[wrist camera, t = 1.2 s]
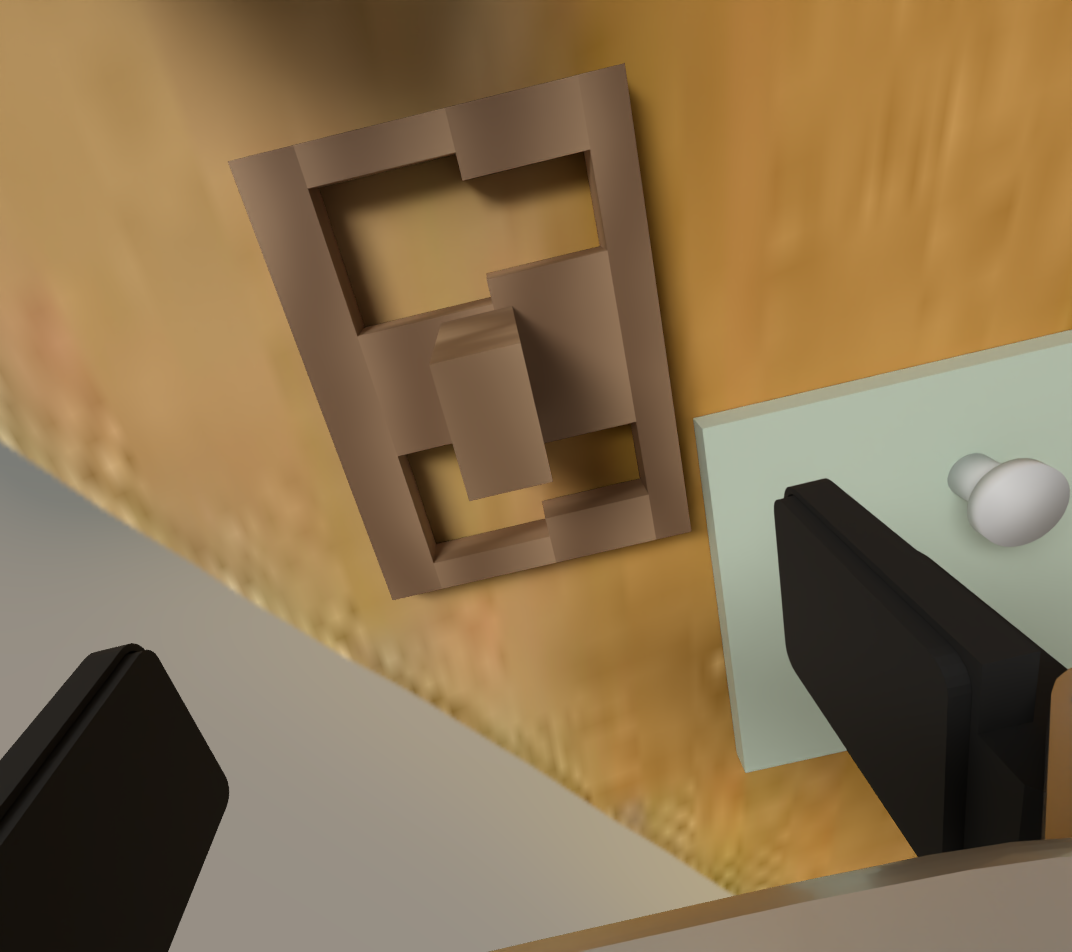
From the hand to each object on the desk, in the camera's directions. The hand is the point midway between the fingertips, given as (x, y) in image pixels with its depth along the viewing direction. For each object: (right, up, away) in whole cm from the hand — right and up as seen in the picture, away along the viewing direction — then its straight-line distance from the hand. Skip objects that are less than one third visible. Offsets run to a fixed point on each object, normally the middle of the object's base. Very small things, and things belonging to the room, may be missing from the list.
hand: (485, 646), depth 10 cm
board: (+17, -1, +19) cm, 25 cm away
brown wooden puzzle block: (-1, +7, +14) cm, 16 cm away
